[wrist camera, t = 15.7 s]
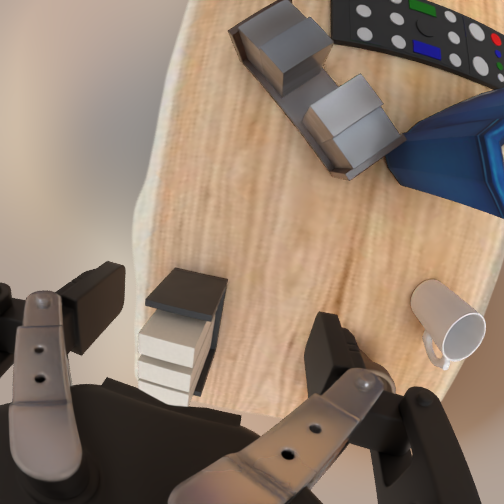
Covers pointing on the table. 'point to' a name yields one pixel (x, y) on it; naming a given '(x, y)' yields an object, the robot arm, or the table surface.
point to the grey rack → (315, 89)
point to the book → (457, 154)
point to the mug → (446, 322)
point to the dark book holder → (192, 305)
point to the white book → (173, 337)
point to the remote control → (422, 36)
